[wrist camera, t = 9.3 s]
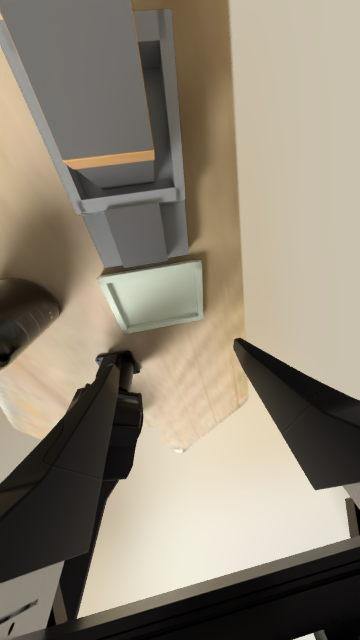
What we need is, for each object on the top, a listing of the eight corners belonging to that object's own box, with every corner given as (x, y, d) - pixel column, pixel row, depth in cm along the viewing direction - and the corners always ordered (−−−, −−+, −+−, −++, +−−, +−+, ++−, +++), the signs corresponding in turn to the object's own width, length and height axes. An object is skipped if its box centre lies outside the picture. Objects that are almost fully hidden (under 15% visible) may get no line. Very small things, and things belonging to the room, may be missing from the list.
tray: (201, 315, 23) (203, 319, 22) (125, 329, 22) (123, 334, 21) (199, 259, 18) (201, 260, 17) (100, 275, 17) (96, 278, 16)
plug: (155, 183, 12) (154, 150, 7) (102, 190, 11) (62, 161, 7) (139, 89, 9) (120, -77, 4) (70, 95, 9) (-37, -73, 4)
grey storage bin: (185, 251, 17) (192, 257, 14) (109, 264, 16) (98, 272, 13) (169, 67, 10) (175, -14, 7) (34, 79, 9) (-31, -2, 6)
